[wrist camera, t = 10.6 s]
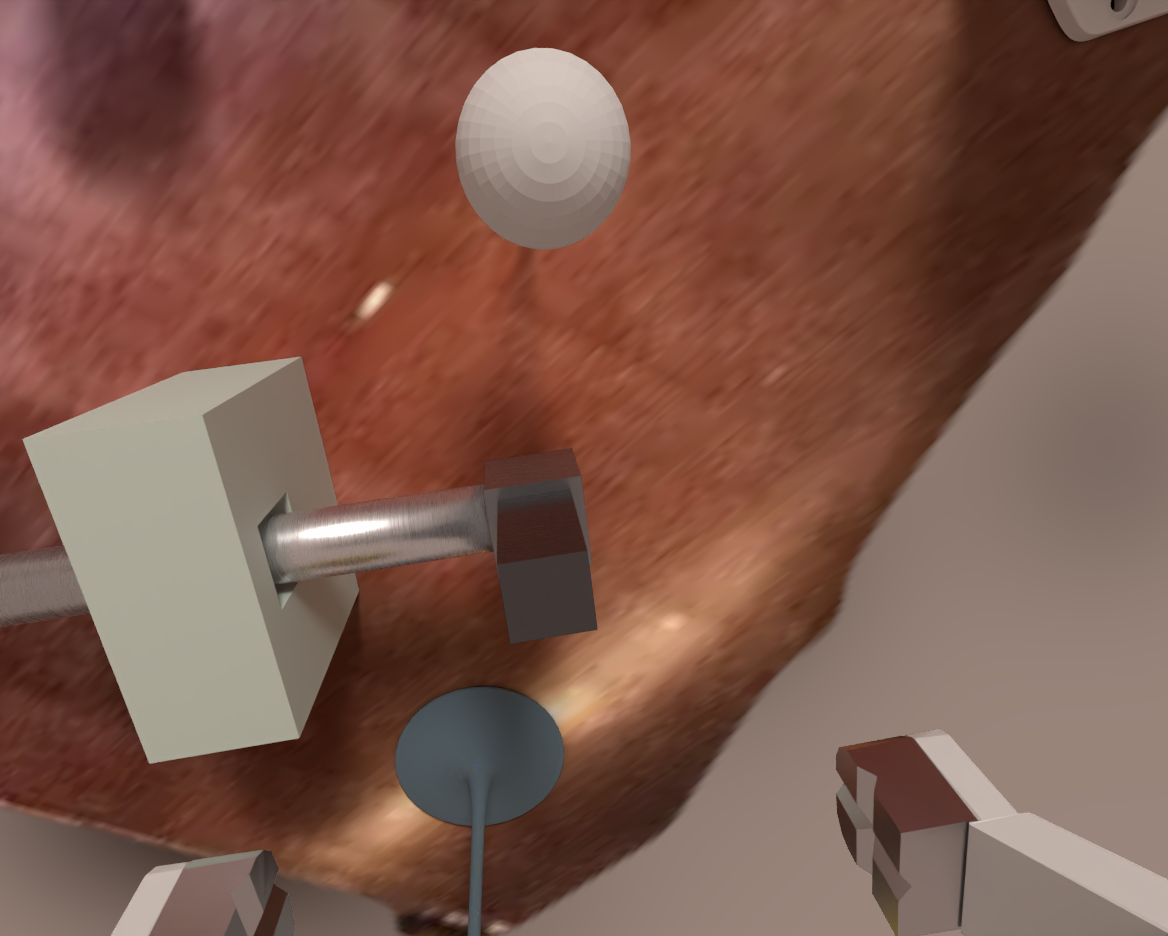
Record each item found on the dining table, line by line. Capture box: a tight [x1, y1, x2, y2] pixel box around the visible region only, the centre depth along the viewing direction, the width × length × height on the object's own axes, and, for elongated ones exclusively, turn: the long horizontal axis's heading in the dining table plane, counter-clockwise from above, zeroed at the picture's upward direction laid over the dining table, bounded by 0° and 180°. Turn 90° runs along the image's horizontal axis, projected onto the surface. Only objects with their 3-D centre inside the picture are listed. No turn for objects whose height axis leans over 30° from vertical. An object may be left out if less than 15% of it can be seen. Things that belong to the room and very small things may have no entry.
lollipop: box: [456, 48, 631, 249], centre depth 28 cm, size 6×6×15 cm
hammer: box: [0, 448, 597, 644], centre depth 27 cm, size 25×4×10 cm, turn 97°
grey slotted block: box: [22, 357, 359, 764], centre depth 32 cm, size 6×14×13 cm, turn 7°
